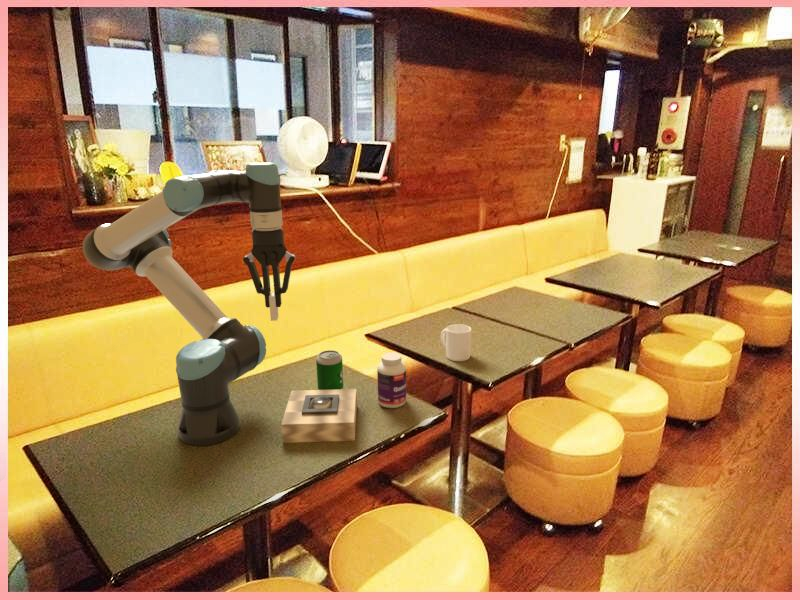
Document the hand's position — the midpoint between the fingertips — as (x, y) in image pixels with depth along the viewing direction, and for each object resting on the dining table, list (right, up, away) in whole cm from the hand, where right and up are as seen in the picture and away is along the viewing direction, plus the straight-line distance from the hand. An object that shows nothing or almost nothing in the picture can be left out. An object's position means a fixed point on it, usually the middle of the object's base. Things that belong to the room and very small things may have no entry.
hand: (274, 318), depth 144 cm
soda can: (+12, -23, +23) cm, 34 cm away
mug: (+51, -14, +47) cm, 70 cm away
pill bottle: (+30, -25, +16) cm, 42 cm away
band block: (+11, -28, +6) cm, 31 cm away
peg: (+11, -27, +5) cm, 30 cm away
